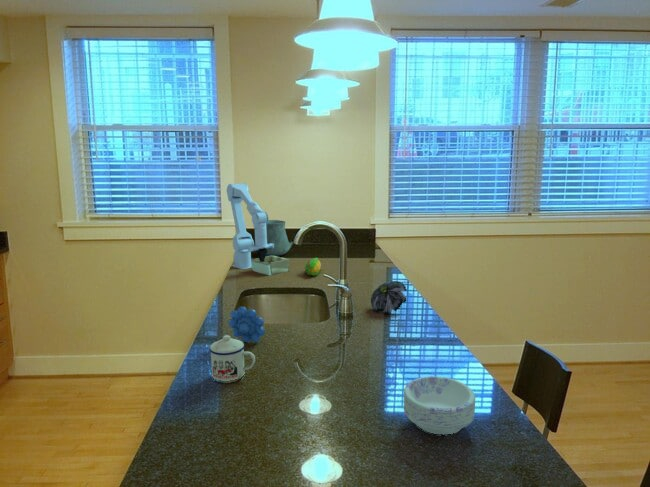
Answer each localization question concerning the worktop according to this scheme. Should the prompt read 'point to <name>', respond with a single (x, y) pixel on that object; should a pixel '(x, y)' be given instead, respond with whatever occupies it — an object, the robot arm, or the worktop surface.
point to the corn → (313, 267)
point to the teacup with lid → (229, 359)
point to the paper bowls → (439, 404)
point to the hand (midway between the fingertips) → (262, 263)
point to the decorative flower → (388, 297)
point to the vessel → (277, 238)
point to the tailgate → (261, 267)
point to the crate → (277, 264)
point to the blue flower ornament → (246, 324)
